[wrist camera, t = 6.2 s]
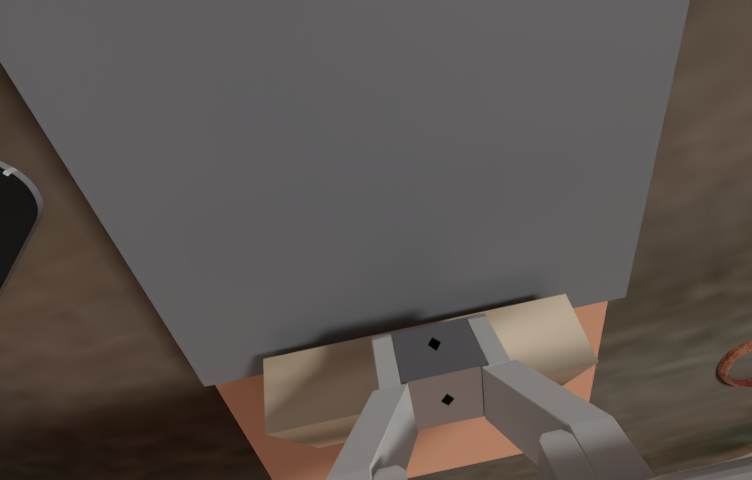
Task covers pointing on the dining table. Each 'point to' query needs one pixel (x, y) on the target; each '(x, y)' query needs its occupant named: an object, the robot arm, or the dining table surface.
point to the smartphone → (16, 217)
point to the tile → (358, 376)
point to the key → (729, 360)
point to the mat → (433, 445)
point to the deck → (351, 154)
